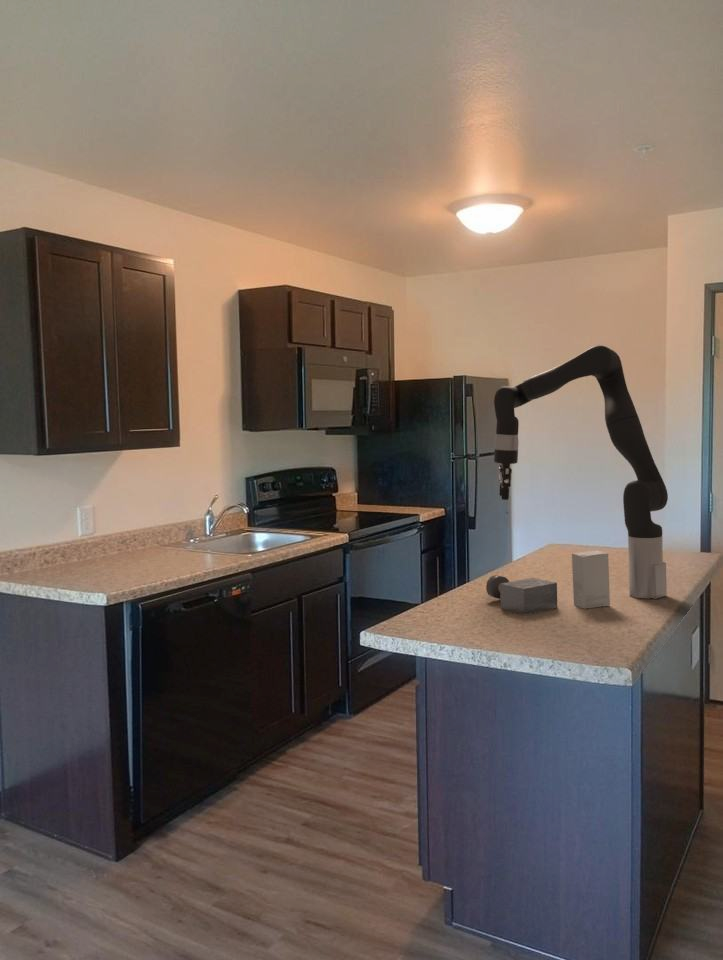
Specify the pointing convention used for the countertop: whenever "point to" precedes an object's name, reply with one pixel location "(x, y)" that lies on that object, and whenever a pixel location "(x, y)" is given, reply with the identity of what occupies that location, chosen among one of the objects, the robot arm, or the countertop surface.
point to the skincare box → (591, 579)
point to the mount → (528, 595)
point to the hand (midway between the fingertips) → (503, 497)
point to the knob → (495, 585)
